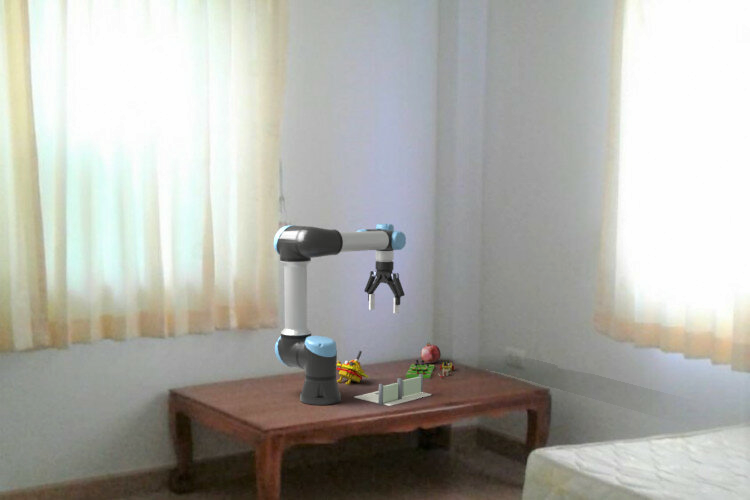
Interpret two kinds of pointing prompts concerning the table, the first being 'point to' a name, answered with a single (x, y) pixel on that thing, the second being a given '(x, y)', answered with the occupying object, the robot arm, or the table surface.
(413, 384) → the fence panel
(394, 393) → the fence fixed
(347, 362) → the toy
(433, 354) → the fruit
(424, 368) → the toy garden set
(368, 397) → the card
